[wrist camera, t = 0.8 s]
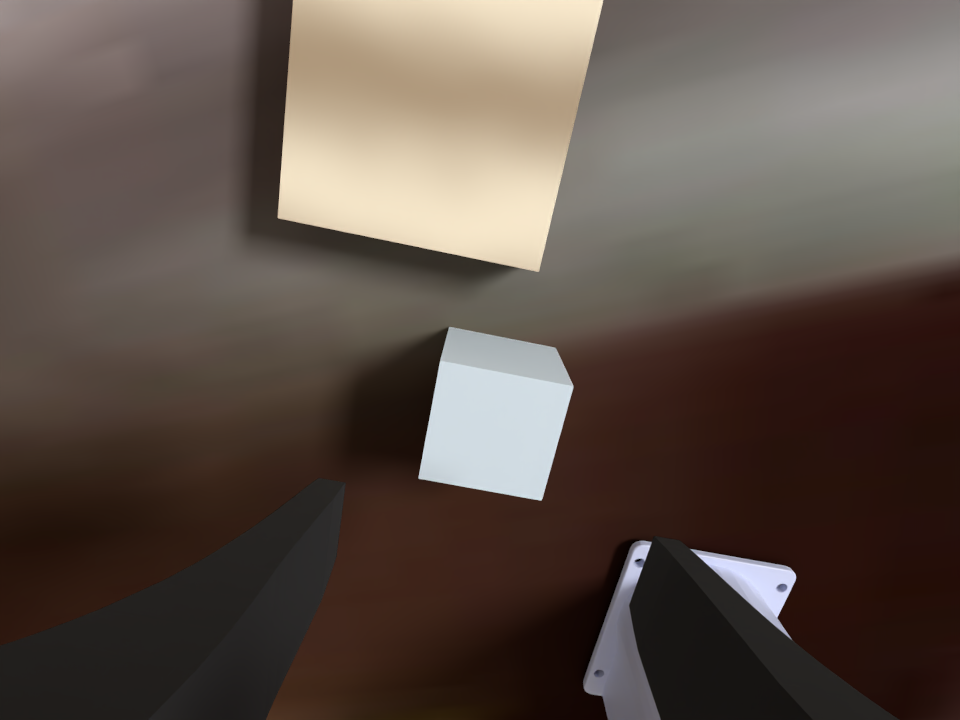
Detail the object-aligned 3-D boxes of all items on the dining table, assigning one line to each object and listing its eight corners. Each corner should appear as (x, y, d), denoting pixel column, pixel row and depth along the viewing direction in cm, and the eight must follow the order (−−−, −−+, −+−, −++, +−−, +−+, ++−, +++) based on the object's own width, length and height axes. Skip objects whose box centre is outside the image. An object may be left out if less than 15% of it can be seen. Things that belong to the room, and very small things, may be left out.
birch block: (531, 260, 20) (538, 271, 17) (307, 214, 20) (277, 218, 17) (591, 2, 17) (611, -35, 15) (332, -59, 17) (300, -109, 14)
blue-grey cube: (530, 442, 22) (541, 500, 18) (431, 423, 22) (418, 478, 18) (555, 347, 21) (573, 386, 17) (449, 326, 21) (439, 360, 16)
